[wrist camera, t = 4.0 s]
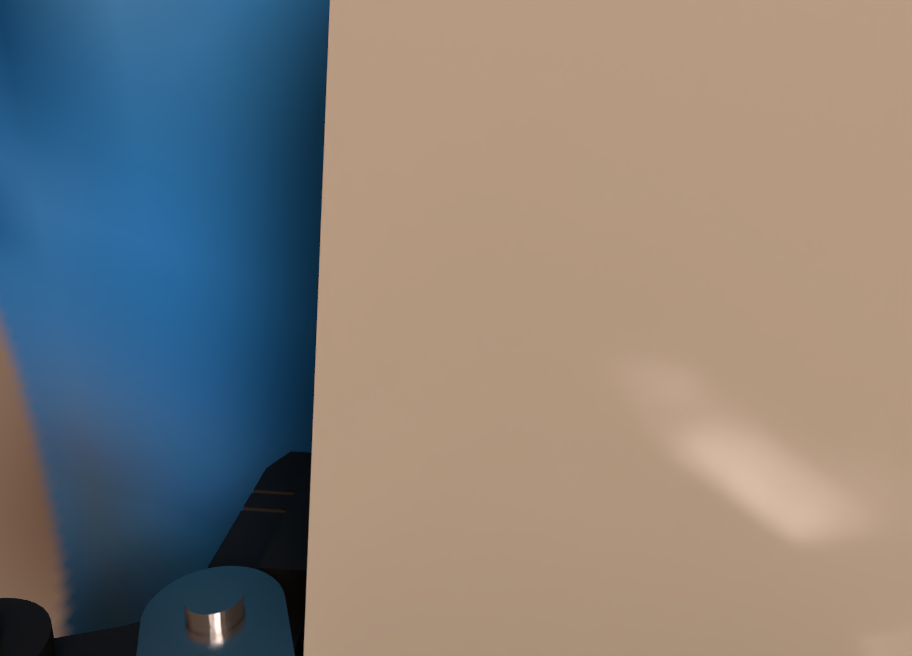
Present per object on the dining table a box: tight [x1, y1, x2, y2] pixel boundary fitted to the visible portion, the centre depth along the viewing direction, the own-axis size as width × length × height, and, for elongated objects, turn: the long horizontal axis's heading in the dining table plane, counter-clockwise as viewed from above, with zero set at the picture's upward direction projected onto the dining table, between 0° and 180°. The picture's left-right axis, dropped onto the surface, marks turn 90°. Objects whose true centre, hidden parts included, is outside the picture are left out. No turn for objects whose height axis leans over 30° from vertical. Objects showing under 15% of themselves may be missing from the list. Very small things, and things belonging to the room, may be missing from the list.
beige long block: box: [304, 0, 912, 656], centre depth 9 cm, size 5×18×6 cm, turn 174°
